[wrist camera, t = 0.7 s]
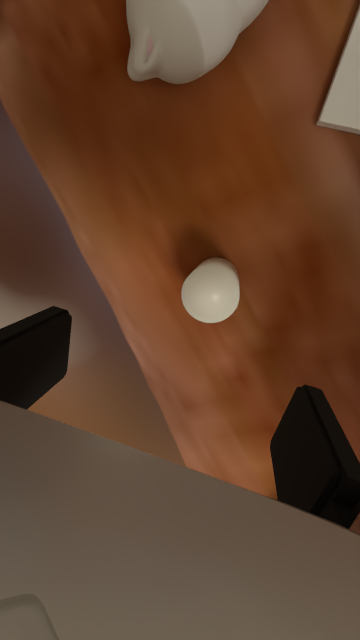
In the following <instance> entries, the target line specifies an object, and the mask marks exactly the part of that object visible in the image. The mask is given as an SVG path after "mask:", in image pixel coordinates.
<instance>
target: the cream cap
mask: <svg viewBox="0 0 360 640" xmlns="http://www.w3.org/2000/svg"><path fill="white" fill-rule="evenodd" d="M181 296H182V302H183V305H184V307H185V309H186V310H187V312H188V313H189V314H190V315H191V316H192V317H194V318H195V319H197V320H199V321H202V322H206V323H216V322H220V321H223V320H225V319H226V318H228V317H229V316H230V315H231V314H232V313H233V312H234V311H235V309H236V308H237V305H238V302H239V297H240V294H239V275H238V272H237V269H236V268H235V266H234V265H233V264H232V263H231V262H230V261H228V260H226V259H224V258H219V257H213V258H209V259H207V260H205V261H203V262H202V263H201V264H200V265H199V266H198V267H197V268H196V269H195V270H194V271H193V272H192V273H191V274H190V275H189V276H188V277H187V278H186V280H185V282H184V284H183V287H182V292H181Z"/></svg>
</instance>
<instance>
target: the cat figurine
mask: <svg viewBox="0 0 360 640" xmlns="http://www.w3.org/2000/svg"><path fill="white" fill-rule="evenodd" d="M268 1H269V0H126V13H127V23H128V29H129V34H130V39H131V47H130V53H129V58H128V65H127V71H128V75H129V77H130V78H131V79H132V80H134V81H144V80H148V79H151V78H160V79H162V80H163V81H166V82H168V83H172V84H185V83H189V82H191V81H194V80H196V79H198V78H199V77H201V76H203V75H204V74H206V73H207V72H209V71H210V70H212V69H213V68H214V67H216V66H217V65H218V64H219V63H220V62H221V61H222V60H223V59H224V58H225V57H226V56H227V55H228V53H229V52H230V50H231V49H232V47H233V45H234V43H235V41H236V39H237V37H238V35H239V33H241V32H242V31H243V30H244V29H246V28H247V27H248V26H249V25H250V24H251V23H252V22H253V21H254V20H255V19H256V17H257V16H258V15H259V14H260V13H261V11H262V10H263V9H264V7H265V6H266V4H267V3H268Z"/></svg>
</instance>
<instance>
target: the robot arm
mask: <svg viewBox="0 0 360 640" xmlns="http://www.w3.org/2000/svg"><path fill="white" fill-rule="evenodd" d="M71 322H72V317H71V315H69V312H68V311H67V310H65V309H61V308H58V307H55V306H52V307H50V308H48V309H45V310H43V311H41V312H38V313H36V314H34V315H32V316H29V317H27V318H25V319H23V320H20V321H18V322H16V323H13V324H11V325H8V326H6V327H4V328H1V329H0V640H360V463H359V461H358V459H357V457H356V455H355V453H354V451H353V449H352V447H351V445H350V444H349V442H348V440H347V438H346V436H345V434H344V432H343V430H342V428H341V426H340V424H339V422H338V420H337V418H336V417H335V415H334V413H333V411H332V409H331V407H330V405H329V403H328V401H327V399H326V397H325V395H324V393H323V391H322V390H321V389H318V388H315V387H311V386H308V385H303V386H302V387H297V388H296V390H295V392H294V394H293V396H292V398H291V400H290V403H289V405H288V407H287V409H286V411H285V413H284V415H283V417H282V419H281V421H280V423H279V425H278V427H277V429H276V431H275V433H274V435H273V437H272V440H271V444H270V450H271V457H272V464H273V470H274V477H275V484H276V490H277V497H278V500H275V499H272V498H269V497H267V496H264V495H261V494H259V493H256V492H253V491H250V490H248V489H245V488H242V487H239V486H237V485H234V484H231V483H229V482H226V481H223V480H220V479H218V478H215V477H212V476H209V475H207V474H204V473H201V472H198V471H196V470H193V469H190V468H187V467H185V466H182V465H179V464H176V463H173V462H171V461H168V460H165V459H162V458H160V457H157V456H154V455H151V454H148V453H146V452H143V451H140V450H137V449H135V448H132V447H129V446H126V445H123V444H121V443H118V442H115V441H112V440H109V439H107V438H104V437H101V436H98V435H96V434H93V433H90V432H87V431H85V430H82V429H79V428H76V427H73V426H71V425H68V424H65V423H62V422H60V421H57V420H54V419H51V418H48V417H45V416H43V415H40V414H37V413H34V412H31V411H29V410H27V409H28V408H29V407H30V406H31V405H32V404H34V403H35V402H36V401H37V400H38V399H39V398H40V397H42V396H43V395H44V394H45V393H46V392H47V391H49V390H50V389H51V388H52V387H53V386H54V385H55V384H57V383H58V382H59V381H60V380H61V379H62V378H63V377H64V376H65V374H66V372H67V365H68V355H69V354H68V353H69V344H70V333H71Z"/></svg>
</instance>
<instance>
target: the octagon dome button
mask: <svg viewBox="0 0 360 640" xmlns="http://www.w3.org/2000/svg"><path fill="white" fill-rule="evenodd" d="M316 125H318V126H323V127H327V128H332V129H337V130H341V131H346V132H351V133H355V134H360V5H359V7H358V10H357V13H356V16H355V18H354V21H353V24H352V27H351V29H350V32H349V35H348V38H347V41H346V43H345V46H344V49H343V52H342V54H341V57H340V60H339V63H338V66H337V68H336V71H335V74H334V77H333V79H332V82H331V85H330V88H329V90H328V93H327V96H326V99H325V102H324V104H323V107H322V110H321V113H320V115H319V118H318V121H317V124H316Z"/></svg>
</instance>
